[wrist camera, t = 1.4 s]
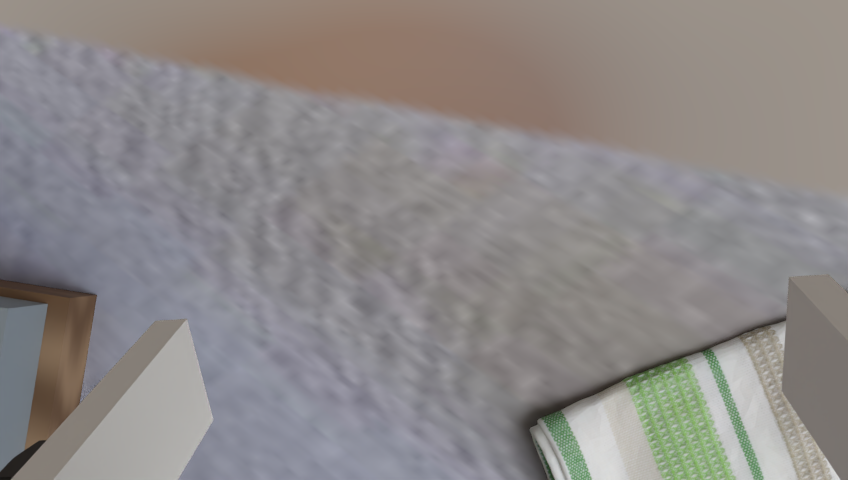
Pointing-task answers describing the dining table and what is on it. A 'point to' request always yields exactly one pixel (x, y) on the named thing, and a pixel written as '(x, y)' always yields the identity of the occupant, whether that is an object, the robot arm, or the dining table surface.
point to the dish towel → (688, 422)
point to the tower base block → (56, 354)
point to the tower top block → (18, 370)
